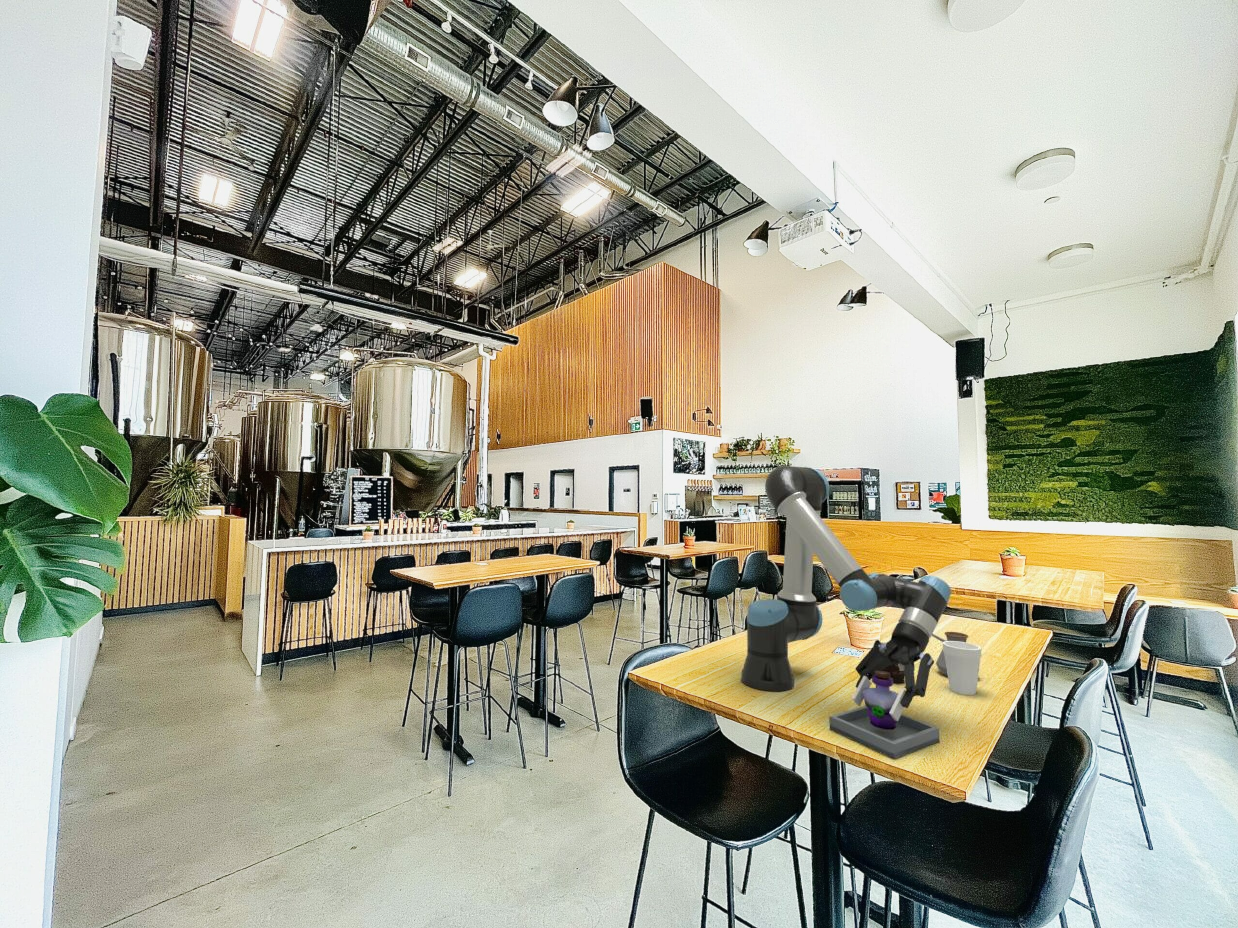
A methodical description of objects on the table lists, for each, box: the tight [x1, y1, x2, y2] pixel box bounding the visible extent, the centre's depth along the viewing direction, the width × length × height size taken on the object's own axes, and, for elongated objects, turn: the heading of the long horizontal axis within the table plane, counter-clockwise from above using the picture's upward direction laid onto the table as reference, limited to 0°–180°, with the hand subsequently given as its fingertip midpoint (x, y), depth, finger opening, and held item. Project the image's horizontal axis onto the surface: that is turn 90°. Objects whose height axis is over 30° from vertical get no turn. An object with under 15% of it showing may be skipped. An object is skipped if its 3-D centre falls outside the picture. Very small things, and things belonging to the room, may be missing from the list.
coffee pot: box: [931, 631, 970, 677], centre depth 168 cm, size 21×12×15 cm, turn 45°
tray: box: [829, 706, 941, 760], centre depth 120 cm, size 16×17×3 cm
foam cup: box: [942, 640, 982, 696], centre depth 150 cm, size 10×9×13 cm
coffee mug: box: [879, 649, 905, 685], centre depth 159 cm, size 12×9×10 cm
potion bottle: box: [862, 671, 899, 730], centre depth 121 cm, size 9×9×12 cm
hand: (874, 709), depth 119 cm, fingers open, 9 cm apart
